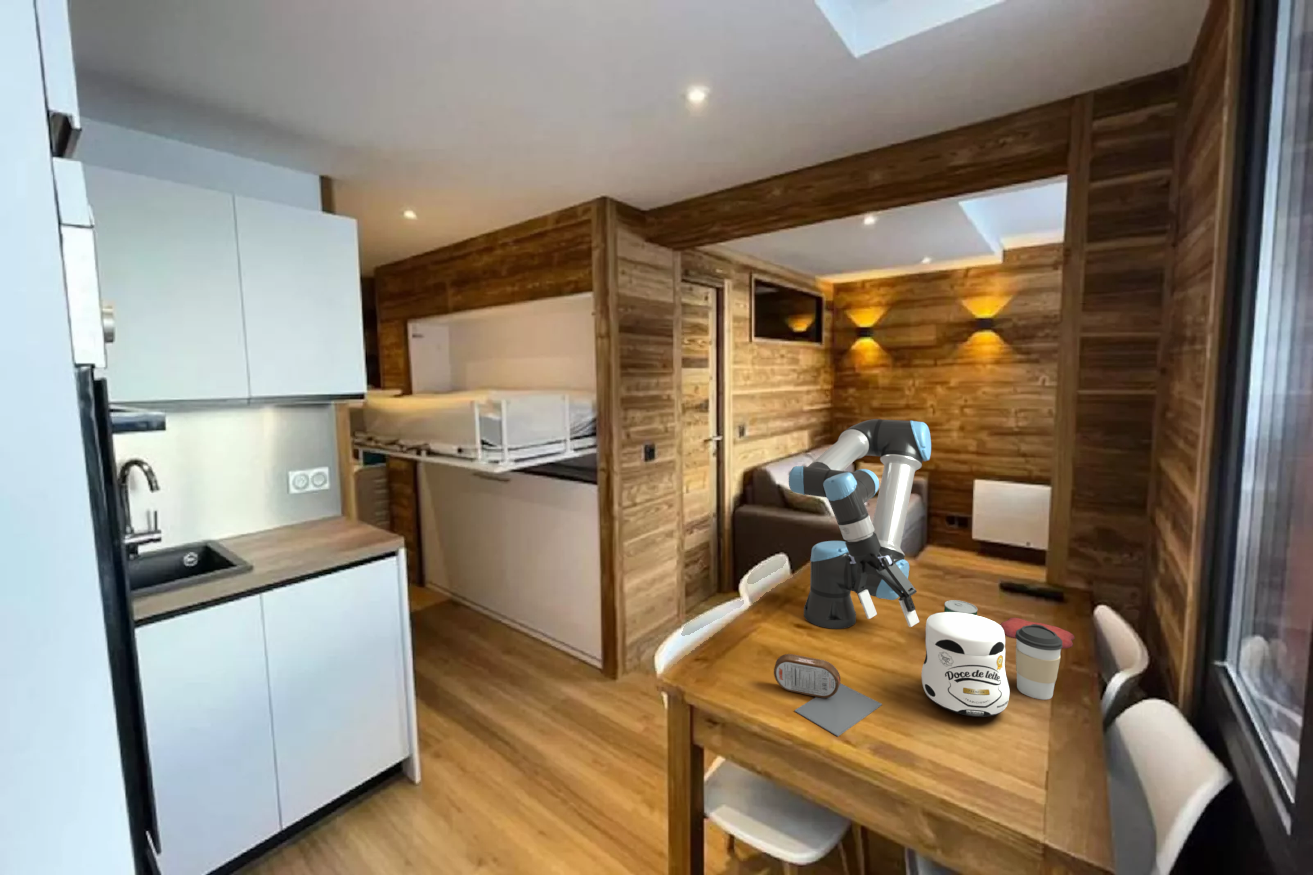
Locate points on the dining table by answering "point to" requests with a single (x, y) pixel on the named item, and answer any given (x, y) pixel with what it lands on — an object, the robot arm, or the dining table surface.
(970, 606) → the canned tomato
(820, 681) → the tin
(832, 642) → the dining table surface
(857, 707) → the slate board
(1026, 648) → the coffee cup
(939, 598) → the dining table surface
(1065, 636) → the red flat irregular piece
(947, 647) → the doce de leite jar
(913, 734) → the dining table surface
